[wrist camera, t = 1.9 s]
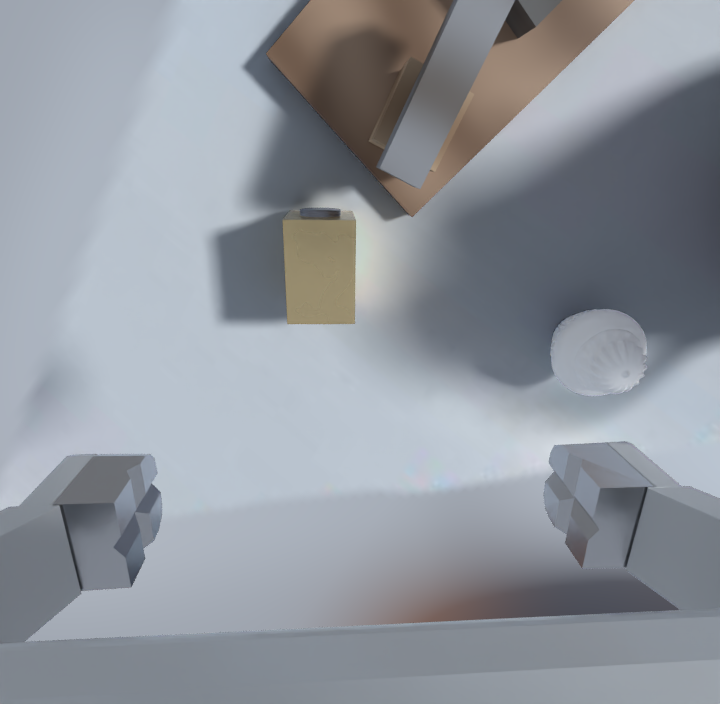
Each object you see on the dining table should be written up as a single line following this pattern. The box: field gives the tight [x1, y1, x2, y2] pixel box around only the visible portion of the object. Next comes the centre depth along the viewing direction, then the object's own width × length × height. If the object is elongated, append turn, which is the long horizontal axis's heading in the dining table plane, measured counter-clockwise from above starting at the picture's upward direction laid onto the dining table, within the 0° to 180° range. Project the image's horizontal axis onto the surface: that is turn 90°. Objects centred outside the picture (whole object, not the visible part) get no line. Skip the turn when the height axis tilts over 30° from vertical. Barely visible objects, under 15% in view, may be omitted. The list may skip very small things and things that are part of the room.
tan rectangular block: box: [283, 208, 356, 324], centre depth 29 cm, size 7×4×5 cm, turn 179°
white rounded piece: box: [550, 309, 648, 396], centre depth 31 cm, size 6×6×7 cm
